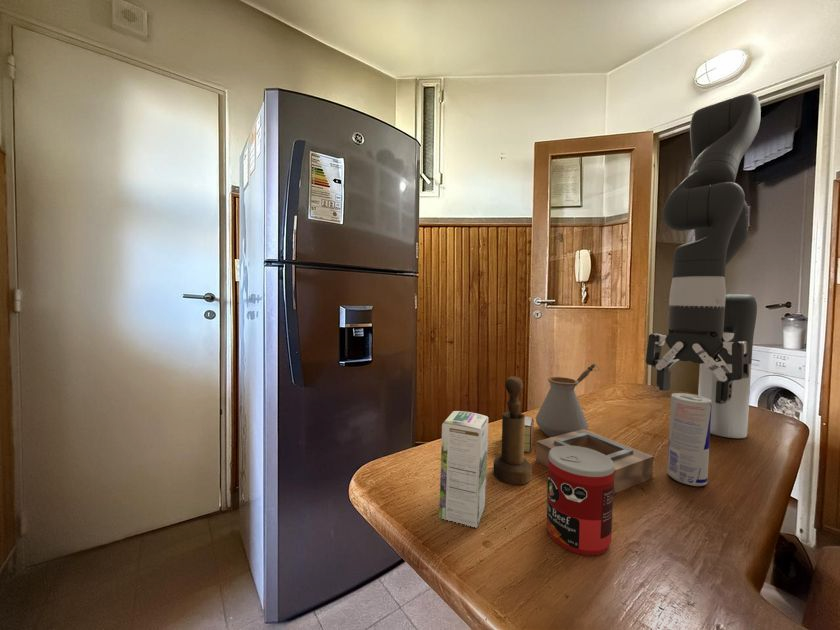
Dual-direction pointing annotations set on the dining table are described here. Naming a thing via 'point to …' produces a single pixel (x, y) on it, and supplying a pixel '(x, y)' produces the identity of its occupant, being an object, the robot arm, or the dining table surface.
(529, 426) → the puzzle toy
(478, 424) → the syrup box
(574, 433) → the block
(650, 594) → the dining table surface
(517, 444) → the mortar and pestle
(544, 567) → the dining table surface
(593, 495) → the canned food
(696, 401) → the beverage can
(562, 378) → the coffee pot
